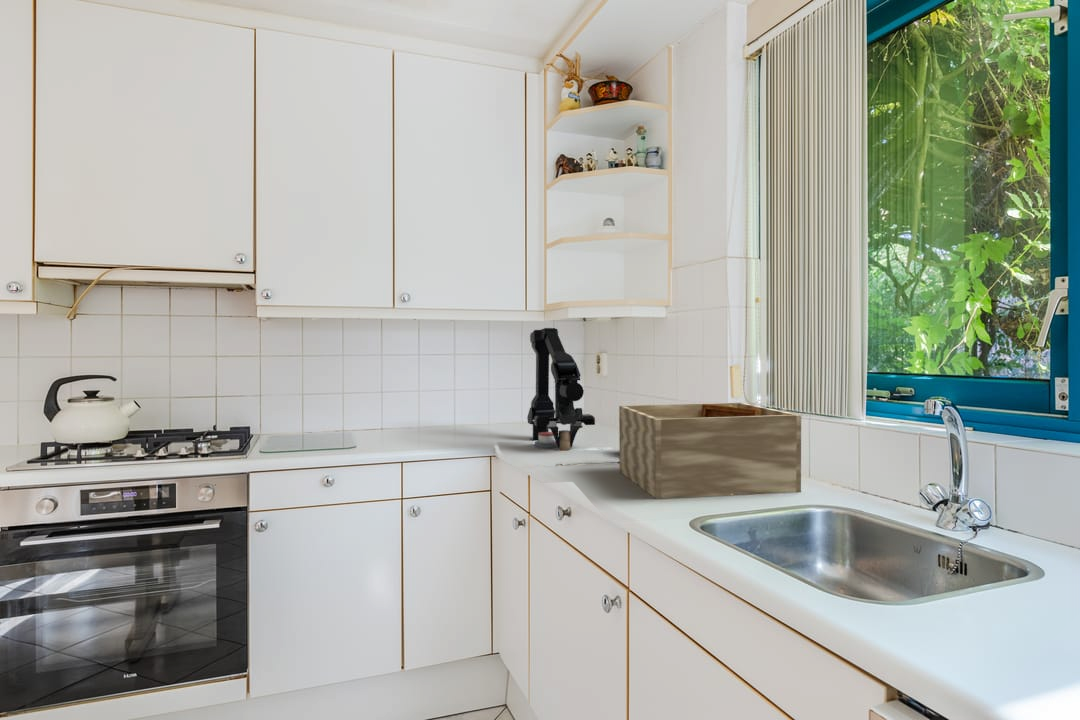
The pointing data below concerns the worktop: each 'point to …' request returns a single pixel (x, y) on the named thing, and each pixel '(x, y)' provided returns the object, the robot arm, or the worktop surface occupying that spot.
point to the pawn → (564, 440)
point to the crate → (709, 451)
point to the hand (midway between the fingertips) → (564, 447)
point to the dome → (546, 437)
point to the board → (554, 445)
